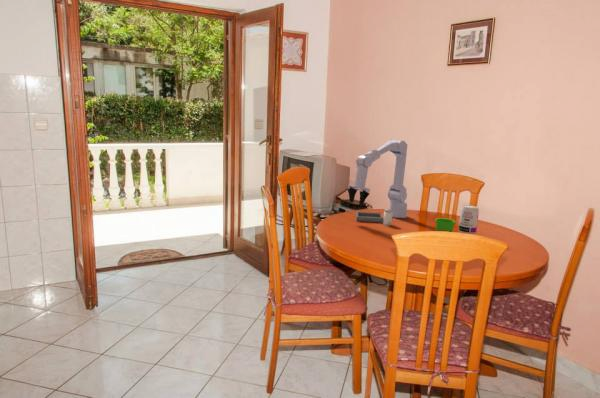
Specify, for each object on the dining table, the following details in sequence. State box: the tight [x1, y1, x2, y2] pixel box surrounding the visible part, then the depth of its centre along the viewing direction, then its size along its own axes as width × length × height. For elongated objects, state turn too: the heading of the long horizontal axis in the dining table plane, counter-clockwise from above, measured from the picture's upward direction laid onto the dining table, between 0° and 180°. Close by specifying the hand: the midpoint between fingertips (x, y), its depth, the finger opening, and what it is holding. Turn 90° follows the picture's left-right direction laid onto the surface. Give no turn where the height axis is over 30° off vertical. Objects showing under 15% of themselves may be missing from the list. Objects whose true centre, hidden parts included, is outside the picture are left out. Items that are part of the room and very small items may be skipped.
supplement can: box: [457, 204, 480, 235], centre depth 208 cm, size 8×8×15 cm
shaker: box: [382, 208, 393, 226], centre depth 226 cm, size 4×4×8 cm
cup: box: [434, 217, 456, 233], centre depth 194 cm, size 9×9×11 cm
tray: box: [355, 211, 384, 224], centre depth 236 cm, size 14×12×2 cm
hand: (356, 203), depth 225 cm, fingers open, 7 cm apart
